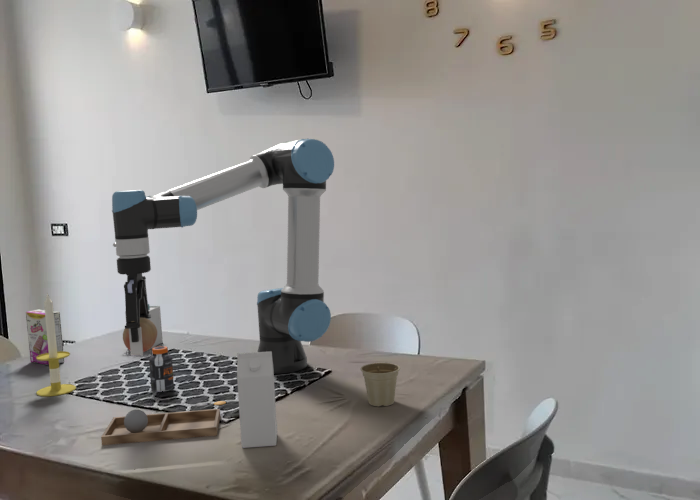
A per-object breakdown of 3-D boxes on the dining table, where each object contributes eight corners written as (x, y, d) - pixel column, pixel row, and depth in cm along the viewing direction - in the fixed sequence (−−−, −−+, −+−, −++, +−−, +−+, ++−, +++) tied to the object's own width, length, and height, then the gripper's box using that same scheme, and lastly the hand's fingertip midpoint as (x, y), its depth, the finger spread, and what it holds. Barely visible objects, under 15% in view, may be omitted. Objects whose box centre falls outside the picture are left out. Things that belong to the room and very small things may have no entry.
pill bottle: (167, 392, 184) (164, 350, 183) (147, 392, 186) (143, 350, 184) (177, 385, 190) (174, 344, 189) (157, 385, 191) (154, 344, 190)
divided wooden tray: (220, 418, 162) (219, 408, 162) (217, 437, 150) (216, 427, 150) (114, 427, 160) (113, 417, 159) (102, 447, 148) (101, 436, 147)
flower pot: (405, 397, 172) (404, 363, 171) (395, 410, 163) (394, 374, 162) (368, 395, 175) (367, 361, 174) (356, 407, 166) (355, 372, 165)
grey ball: (150, 427, 157) (148, 405, 156) (146, 435, 152) (144, 412, 151) (127, 429, 156) (125, 407, 156) (122, 437, 151) (121, 414, 151)
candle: (84, 387, 193) (75, 290, 190) (55, 398, 184) (45, 296, 181) (57, 383, 197) (49, 289, 194) (27, 394, 188) (18, 295, 185)
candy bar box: (29, 362, 223) (24, 311, 221) (43, 358, 227) (39, 308, 225) (51, 366, 217) (46, 314, 215) (65, 362, 221) (60, 311, 219)
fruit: (116, 355, 166) (113, 321, 165) (139, 346, 173) (136, 314, 172) (143, 356, 163) (141, 322, 162) (165, 348, 170) (162, 315, 169)
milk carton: (243, 436, 151) (238, 349, 149) (277, 433, 151) (272, 347, 149) (241, 448, 144) (235, 358, 142) (276, 446, 144) (271, 355, 142)
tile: (232, 399, 176) (232, 397, 176) (230, 408, 169) (230, 406, 169) (191, 403, 175) (191, 401, 175) (188, 412, 168) (188, 410, 168)
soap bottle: (127, 349, 235) (123, 292, 233) (139, 342, 244) (135, 288, 242) (151, 349, 234) (147, 292, 232) (163, 342, 242) (158, 288, 240)
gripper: (125, 252, 175) (133, 341, 178) (106, 262, 155) (114, 363, 157) (156, 250, 176) (163, 339, 179) (141, 260, 155) (149, 360, 158)
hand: (140, 350), depth 168 cm, fingers closed on fruit, 8 cm apart
